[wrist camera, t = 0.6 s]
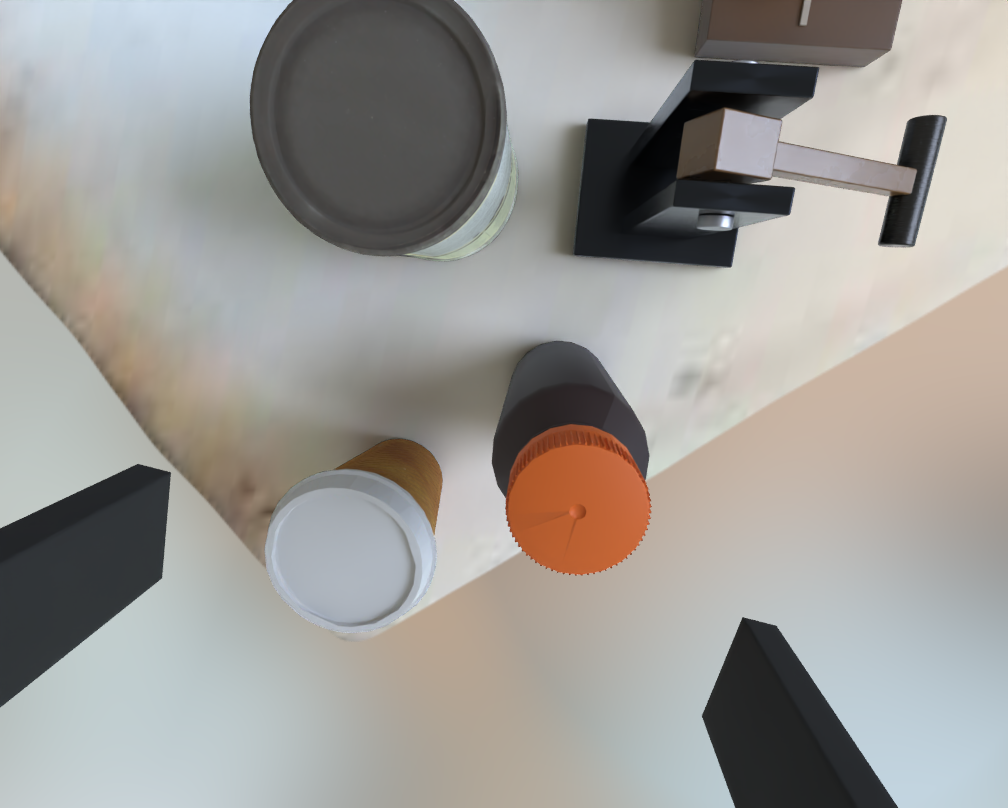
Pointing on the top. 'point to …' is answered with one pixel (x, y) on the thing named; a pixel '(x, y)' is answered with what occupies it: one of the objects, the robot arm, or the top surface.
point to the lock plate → (798, 30)
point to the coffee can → (385, 126)
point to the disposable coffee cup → (358, 538)
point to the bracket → (654, 163)
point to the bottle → (571, 462)
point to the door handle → (814, 163)
